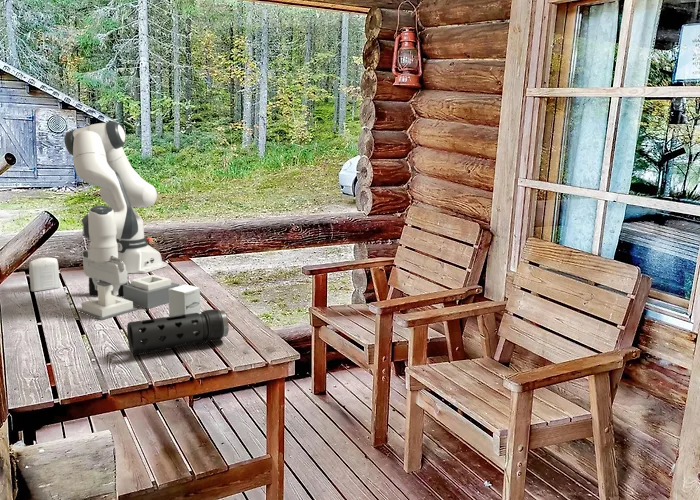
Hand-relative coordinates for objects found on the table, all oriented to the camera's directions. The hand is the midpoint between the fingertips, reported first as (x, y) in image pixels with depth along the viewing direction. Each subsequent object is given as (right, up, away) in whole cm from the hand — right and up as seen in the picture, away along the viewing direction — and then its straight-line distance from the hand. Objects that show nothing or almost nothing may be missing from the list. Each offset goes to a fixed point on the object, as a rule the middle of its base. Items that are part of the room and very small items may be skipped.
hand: (106, 292), depth 205 cm
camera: (-6, -2, +20) cm, 21 cm away
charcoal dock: (+11, -4, +14) cm, 18 cm away
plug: (0, -6, +1) cm, 6 cm away
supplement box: (+30, -10, -9) cm, 33 cm away
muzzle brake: (+34, -15, -28) cm, 46 cm away
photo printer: (-33, 0, +23) cm, 41 cm away
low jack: (0, -6, +1) cm, 7 cm away
